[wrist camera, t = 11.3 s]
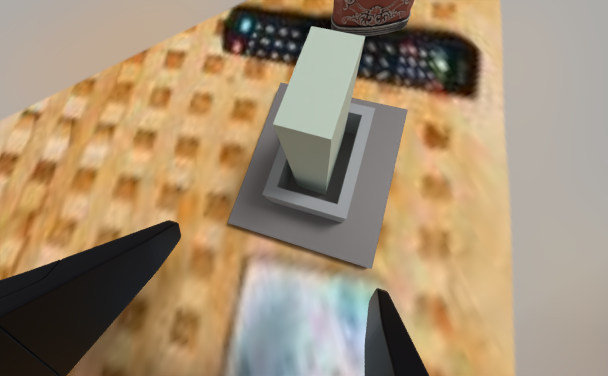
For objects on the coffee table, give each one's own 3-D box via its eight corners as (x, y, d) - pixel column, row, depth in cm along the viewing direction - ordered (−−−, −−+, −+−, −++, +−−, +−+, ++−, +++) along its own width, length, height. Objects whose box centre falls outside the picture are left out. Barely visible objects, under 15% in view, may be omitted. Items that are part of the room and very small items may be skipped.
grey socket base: (232, 223, 19) (209, 219, 15) (282, 89, 22) (274, 56, 18) (368, 267, 17) (382, 275, 13) (403, 115, 20) (423, 86, 16)
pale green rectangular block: (298, 186, 18) (273, 124, 9) (318, 128, 19) (315, 15, 10) (325, 194, 18) (331, 139, 8) (344, 135, 19) (368, 25, 9)
